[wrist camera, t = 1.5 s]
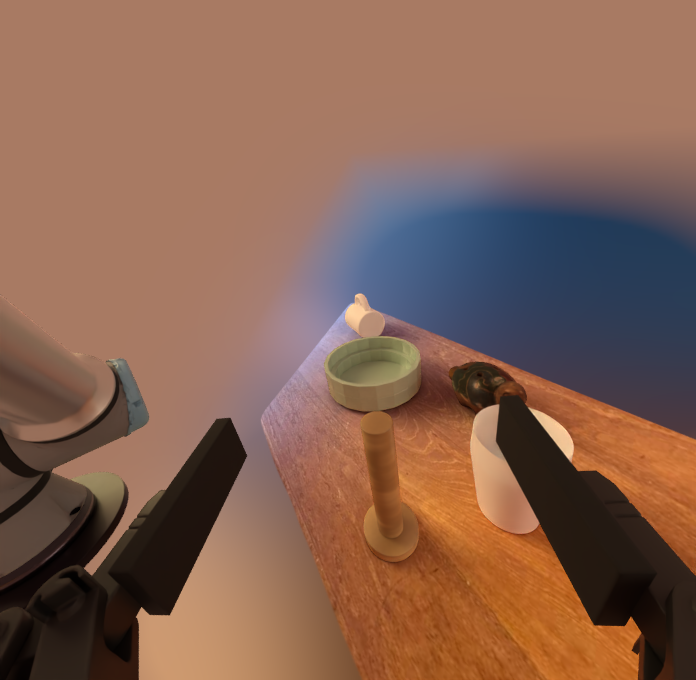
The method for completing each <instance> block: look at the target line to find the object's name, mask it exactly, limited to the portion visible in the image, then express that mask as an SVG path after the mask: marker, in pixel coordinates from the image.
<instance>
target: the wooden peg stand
mask: <svg viewBox="0 0 696 680" xmlns="http://www.w3.org/2000/svg"><path fill="white" fill-rule="evenodd" d="M360 426H361V432H362V438H363V444H364V449H365V455H366V461H367V467H368V473H369V478H370V484H371V490H372V496H373V502H374V504H373V505H372V506H371V507H370V509H369V510H368V511H367V513H366V516H365V518H364V525H363V526H364V534H365V539H366V542H367V544H368V546H369V548H370V550H371V551H372V552H373V553H374V554H375V555H376V556H377V557H379V558H380V559H382V560H385V561H389V562H398V561H402V560H404V559H406V558H408V557H409V556H410V555H411V554H412V553H413V552H414V550H415V549H416V547H417V544H418V540H419V527H418V521H417V518H416V516H415V514H414V512H413V511H412V510H411V508H410V507H409V506H407V505H406V504H405V503H403V502H401V496H400V486H399V476H398V466H397V457H396V447H395V437H394V427H393V420H392V418H391V416H390V415H389V414H387V413H385V412H382V411H373V412H370V413H368V414H366V415H365V416H364V417H363V418H362V419H361V422H360Z"/></svg>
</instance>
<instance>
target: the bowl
mask: <svg viewBox="0 0 696 680" xmlns="http://www.w3.org/2000/svg"><path fill="white" fill-rule="evenodd" d="M324 367H325V373H326V378H327V382H328V387H329V391H330V394H331V396H332V397H333V398H334V399H335V401H336V402H337V403H339V404H341V405H343V406H345V407H346V408H350V409H354V410H359V411H381V410H386V409H390V408H394V407H397V406H399V405H401V404H403V403H405V402H407V401H408V400H410V399H411V398H412V397H413V396H414V395H415V394H416V393H417V392H418V390H419V387H420V385H421V359H420V352H419V350H418V349H417V348H416V347H415V346H414V345H413V344H412V343H410V342H408V341H406V340H403V339H400V338H396V337H388V336H373V337H365V338H360V339H355V340H352V341H350V342H347V343H344V344H342V345H341V346H339V347H337V348H336V349H334V350H333V351H332V352H331V353H330V354H329V355H328V356H327V358H326V360H325V363H324Z"/></svg>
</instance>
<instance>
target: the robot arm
mask: <svg viewBox="0 0 696 680" xmlns="http://www.w3.org/2000/svg"><path fill="white" fill-rule="evenodd" d="M148 420H149V414H148V411H147V408H146V406H145V403H144V401H143V398H142V396H141V393H140V391H139V388H138V386H137V384H136V381H135V379H134V377H133V375H132V372H131V370H130V368H129V366H128V364H127V362H126V360H124V359H120V358H119V359H115V360H111V359H110V360H108V361H106V363H104V362H103V361H102V360H100V359H98V358H96V357H93V356H90V355H86V354H79V353H72V352H70V351H69V350H68V349H67V348H65V347H64V346H63V345H62V344H61V343H59V342H58V341H57V340H56V339H54V338H53V337H52V336H51V335H50V334H48V333H47V332H46V331H45V330H43V329H42V328H41V327H40V326H39V325H37V324H36V323H35V322H34V321H32V320H31V319H30V318H29V317H27V316H26V315H25V314H24V313H23V312H21V311H20V310H19V309H18V308H16V307H15V306H14V305H13V304H11V303H10V302H9V301H8V300H7V299H5V298H4V297H3V296H2V295H0V596H1V595H3V594H5V593H7V592H9V591H11V590H13V589H15V588H16V587H18V586H20V585H21V584H23V583H25V582H26V581H28V580H29V579H31V578H32V577H34V576H35V575H37V574H38V573H39V572H41V571H42V570H43V569H45V568H46V567H47V566H49V565H50V564H51V563H52V562H53V561H55V560H56V559H57V558H58V557H59V556H60V555H61V554H62V553H64V552H65V551H66V550H67V549H68V548H69V547H70V546H71V545H72V544H73V543H74V541H75V540H76V539H77V538H78V537H79V536H80V535H81V533H82V532H83V531H84V529H85V528H86V527H87V525H88V524H89V522H90V520H91V519H92V517H93V515H94V513H95V510H96V506H97V499H96V496H95V495H94V494H93V493H92V491H91V490H90V489H89V488H87V487H86V486H84V485H82V484H79V483H77V482H74V481H72V480H69V479H67V478H64V477H62V476H59V475H57V474H54V473H52V470H53V468H56V467H58V466H60V465H62V464H64V463H67V462H68V461H71V460H73V459H75V458H77V457H80V456H82V455H84V454H86V453H88V452H90V451H93V450H95V449H97V448H99V447H101V446H103V445H106V444H108V443H110V442H112V441H114V440H117V439H119V438H121V437H123V436H128V435H130V434H131V432H133V431H135V430H137V429H139V428H141V427H143V426H144V425H145V424H146V423H147V422H148ZM496 443H497V444H498V446H499V448H500V450H501V452H502V454H503V456H504V458H505V459H506V461H507V463H508V465H509V467H510V469H511V471H512V473H513V474H514V476H515V478H516V480H517V482H518V484H519V486H520V488H521V489H522V491H523V493H524V495H525V497H526V499H527V501H528V503H529V504H530V506H531V508H532V510H533V512H534V514H535V516H536V518H537V519H538V521H539V523H540V525H541V527H542V529H543V531H544V533H545V534H546V536H547V538H548V540H549V542H550V544H551V546H552V547H553V549H554V551H555V553H556V555H557V557H558V559H559V561H560V562H561V564H562V566H563V568H564V570H565V572H566V574H567V576H568V577H569V579H570V581H571V583H572V585H573V587H574V589H575V591H576V592H577V594H578V596H579V598H580V600H581V602H582V604H583V606H584V607H585V609H586V611H587V613H588V615H589V617H590V619H591V621H592V622H593V624H594V625H602V626H625V625H626V623H627V622H628V620H629V618H630V617H632V618H633V620H634V621H635V623H636V625H637V626H638V628H639V629H640V631H641V632H642V633H641V635H640V636H639V638H638V639H637V641H636V642H635V644H634V646H633V649H632V651H633V652H634V653H636V654H637V655H638V653H639V671H638V680H696V576H695V575H694V574H693V573H692V572H691V571H690V569H689V568H688V567H687V566H686V565H685V564H684V563H683V561H682V560H681V559H680V558H679V557H678V556H677V555H676V553H675V552H674V551H673V550H672V549H671V548H670V547H669V546H668V544H667V543H666V542H665V541H664V540H663V539H662V538H661V536H660V535H659V534H658V533H657V532H656V531H655V530H654V528H653V527H652V526H651V525H650V524H649V523H648V522H647V520H646V519H645V518H644V517H642V516H641V514H640V512H639V511H638V510H637V509H636V508H635V507H634V506H633V504H632V503H629V500H628V499H627V498H626V496H625V495H624V494H623V493H622V492H621V491H620V490H619V489H618V487H617V486H616V485H615V484H614V483H612V482H611V481H610V480H608V479H607V478H606V477H604V476H603V475H601V474H600V473H599V472H597V471H577V470H576V468H575V467H574V466H573V464H572V463H571V462H570V461H569V459H568V458H567V457H566V455H565V454H564V453H563V452H562V450H561V449H560V448H559V447H558V445H557V444H556V443H555V441H554V440H553V439H552V438H551V436H550V435H549V434H548V432H547V431H546V430H545V429H544V427H543V426H542V425H541V423H540V422H539V421H538V420H537V418H536V417H535V416H534V415H533V413H532V412H531V411H530V409H529V408H528V407H527V406H526V404H525V403H524V402H523V400H522V399H521V398H520V397H519V395H512V396H500V403H499V413H498V423H497V433H496ZM246 457H247V454H246V452H245V450H244V448H243V445H242V443H241V441H240V439H239V436H238V434H237V432H236V429H235V427H234V425H233V423H232V420H231V418H222V419H216V421H215V422H214V423H213V425H212V426H211V428H210V429H209V430H208V432H207V433H206V435H205V436H204V437H203V439H202V440H201V442H200V443H199V444H198V446H197V447H196V449H195V450H194V452H193V453H192V454H191V456H190V457H189V459H188V460H187V461H186V463H185V464H184V466H183V467H182V468H181V470H180V471H179V472H178V474H177V476H176V477H175V478H174V480H173V481H172V482H171V484H170V485H169V487H168V488H167V489H166V490H161V491H159V492H158V493H157V494H156V495H155V496H154V497H152V498H151V499H150V500H149V501H148V502H147V503H146V505H145V506H144V507H143V509H142V510H141V511H140V513H139V514H138V515H137V518H136V519H134V521H133V522H132V523H131V525H130V526H129V529H128V530H126V532H125V533H124V534H123V536H122V537H121V538H120V540H119V541H118V542H117V544H116V545H115V546H114V548H113V549H112V550H111V552H110V553H109V554H108V556H107V557H106V559H105V560H104V561H103V562H102V564H101V565H100V566H99V568H98V569H97V570H96V572H95V573H94V574H93V575H92V576H91V575H90V574H89V573H88V572H87V571H86V570H85V569H84V568H83V567H81V566H79V565H75V566H70V567H68V568H66V569H63V570H61V571H60V572H58V573H57V574H55V575H54V576H53V577H51V578H50V579H49V580H48V581H46V582H45V583H44V584H43V585H42V586H41V587H40V588H39V589H38V590H37V592H36V593H35V594H34V596H33V597H32V598H31V599H30V601H29V603H28V605H27V607H26V609H25V610H24V609H22V608H20V607H12V608H9V609H6V610H4V611H3V612H1V613H0V680H139V671H138V669H139V658H138V657H139V624H138V620H137V618H136V616H137V614H138V612H139V610H140V608H141V607H142V608H143V609H144V610H145V611H146V612H147V613H148V614H149V615H170V613H171V612H172V610H173V608H174V605H175V603H176V601H177V599H178V597H179V595H180V593H181V591H182V589H183V587H184V585H185V583H186V581H187V579H188V577H189V574H190V573H191V570H192V568H193V566H194V564H195V562H196V560H197V558H198V556H199V554H200V552H201V550H202V548H203V546H204V544H205V542H206V539H207V537H208V535H209V533H210V531H211V529H212V527H213V525H214V523H215V521H216V519H217V517H218V515H219V513H220V511H221V509H222V507H223V505H224V502H225V500H226V498H227V496H228V494H229V492H230V490H231V488H232V486H233V484H234V482H235V480H236V478H237V476H238V474H239V471H240V469H241V468H242V466H243V463H244V461H245V459H246ZM26 611H27V612H26Z"/></svg>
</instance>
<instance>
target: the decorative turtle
mask: <svg viewBox="0 0 696 680" xmlns="http://www.w3.org/2000/svg"><path fill="white" fill-rule="evenodd" d="M449 377H450V379H451V380H452V386H453V389H454V391H455V393H456V396H457V398H458V400H459V402H460V404H461V405H463V406H469V407H470V408H471V409H473V411H474V412H475V413H476V415H477V414H478V413H479V412H480V411H481V410H483V409H485V408H487V407H490V406H493V405H499V403H500V396H512V395H519V397H520V398H521V399H522V400H523V402H524V403H526V400H527V395H526V392H525V390H524V388H523V387H522V386H521V385H520V384H518V383H517V382H516V381H515V380H514V379H513V378H512V377H511V376H510V375H509V374H508V373H507V372H505V371H504V370H503V369H501V368H499V367H497V366H495V365H492V364H489V363H485V362H470V363H466V364H464V365H462V366H460V367H458V366H456V367H453V368H451V369H450V371H449Z"/></svg>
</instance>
